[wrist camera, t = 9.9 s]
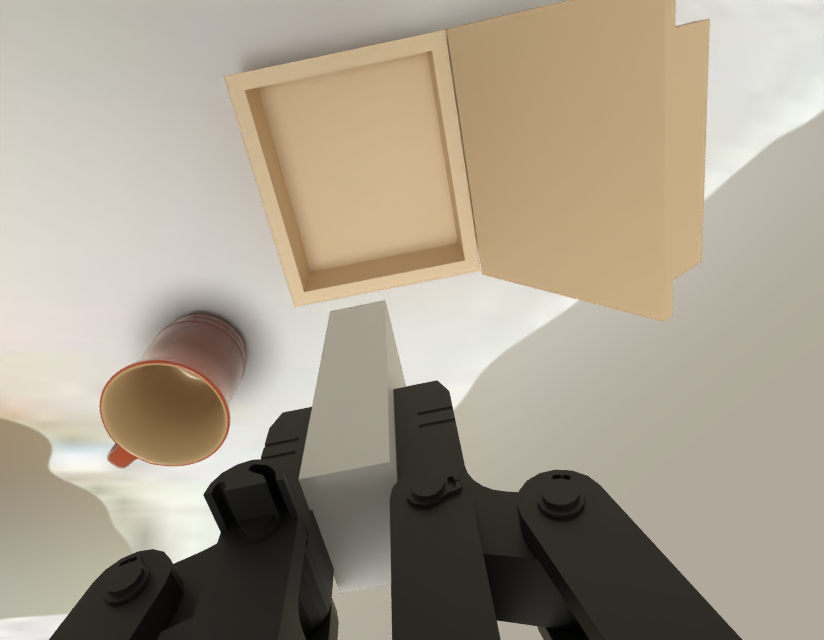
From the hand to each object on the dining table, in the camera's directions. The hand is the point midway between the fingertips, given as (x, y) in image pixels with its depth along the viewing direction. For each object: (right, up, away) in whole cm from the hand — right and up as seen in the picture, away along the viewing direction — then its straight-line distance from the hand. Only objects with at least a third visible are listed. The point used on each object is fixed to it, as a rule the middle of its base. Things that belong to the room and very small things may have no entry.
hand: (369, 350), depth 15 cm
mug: (-18, -2, +34) cm, 38 cm away
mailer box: (-2, +12, +27) cm, 30 cm away
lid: (+9, +10, +17) cm, 21 cm away
